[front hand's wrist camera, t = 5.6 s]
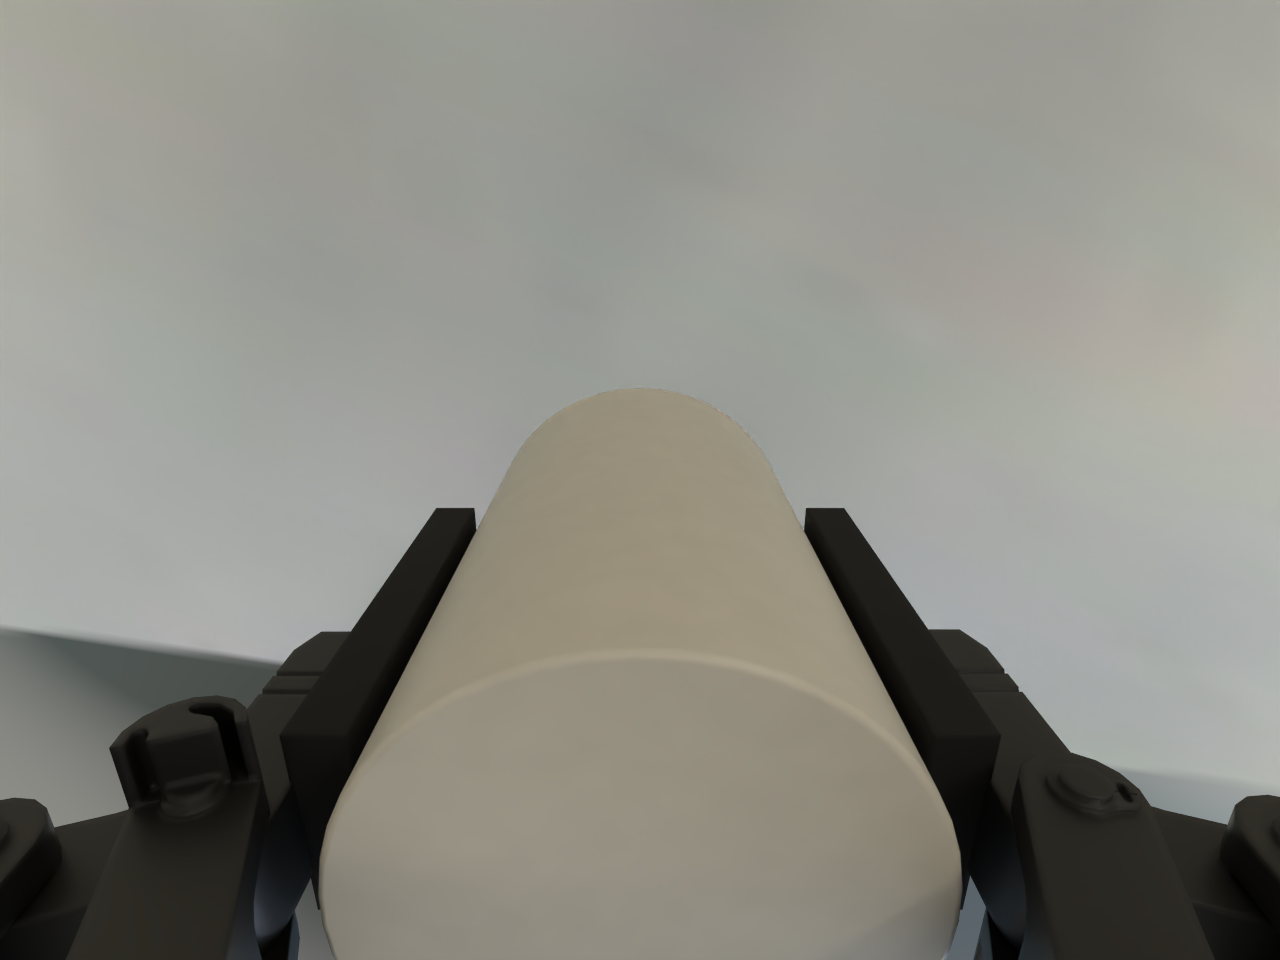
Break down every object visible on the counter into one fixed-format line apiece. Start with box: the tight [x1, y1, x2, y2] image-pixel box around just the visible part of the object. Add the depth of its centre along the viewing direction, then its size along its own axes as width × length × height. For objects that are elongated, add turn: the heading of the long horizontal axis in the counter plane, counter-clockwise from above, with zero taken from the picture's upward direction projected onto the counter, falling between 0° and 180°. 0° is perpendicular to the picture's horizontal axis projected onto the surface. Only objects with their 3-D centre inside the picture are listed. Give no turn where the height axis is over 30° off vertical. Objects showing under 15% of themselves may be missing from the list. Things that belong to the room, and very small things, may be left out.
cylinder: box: [318, 388, 962, 960], centre depth 12 cm, size 7×7×10 cm
